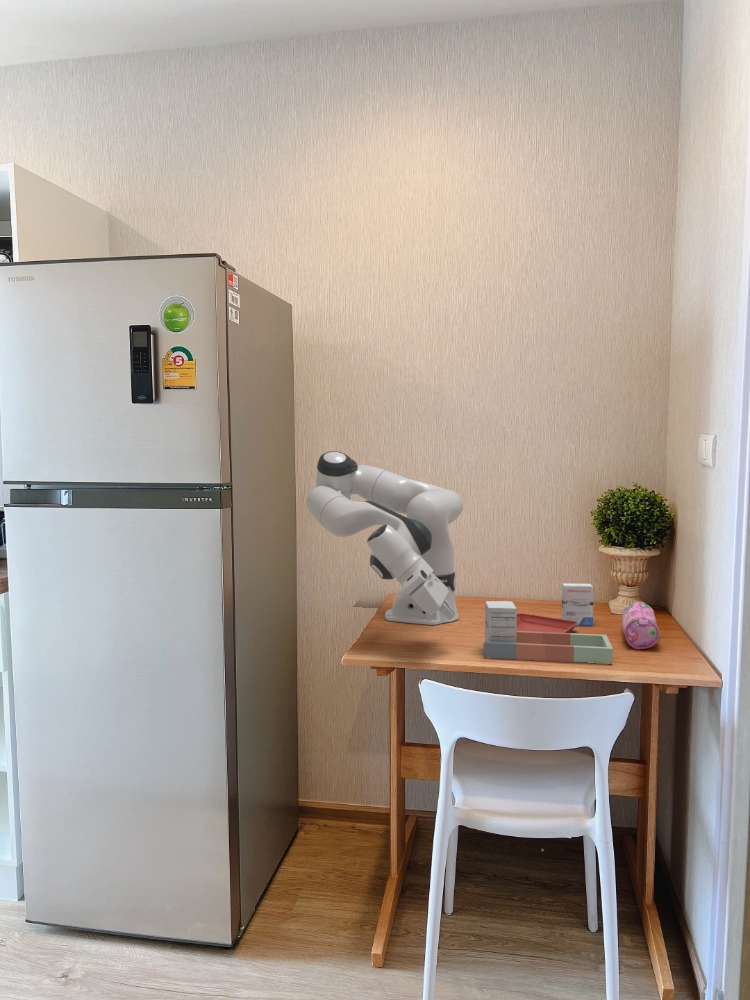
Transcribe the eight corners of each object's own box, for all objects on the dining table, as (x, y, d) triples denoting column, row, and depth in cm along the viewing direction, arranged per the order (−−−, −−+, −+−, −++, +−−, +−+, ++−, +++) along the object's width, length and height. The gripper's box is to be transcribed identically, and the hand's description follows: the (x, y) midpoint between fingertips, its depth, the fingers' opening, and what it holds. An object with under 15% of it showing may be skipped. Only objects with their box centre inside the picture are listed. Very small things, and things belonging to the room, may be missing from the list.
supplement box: (484, 647, 198) (484, 600, 197) (512, 647, 198) (513, 600, 196) (487, 656, 191) (488, 607, 189) (516, 656, 190) (517, 607, 189)
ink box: (590, 621, 223) (591, 582, 222) (593, 626, 218) (594, 586, 217) (561, 621, 224) (561, 582, 223) (563, 625, 219) (564, 586, 218)
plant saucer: (578, 632, 213) (578, 620, 213) (557, 648, 198) (557, 636, 198) (518, 623, 223) (518, 612, 223) (494, 638, 208) (494, 626, 207)
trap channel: (483, 658, 189) (484, 642, 188) (485, 643, 201) (485, 629, 201) (612, 664, 183) (612, 648, 183) (605, 649, 195) (606, 634, 195)
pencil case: (621, 628, 216) (622, 598, 215) (655, 631, 213) (656, 600, 212) (621, 649, 196) (623, 616, 195) (659, 653, 193) (660, 618, 192)
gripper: (414, 577, 205) (448, 614, 204) (401, 593, 185) (438, 635, 184) (431, 562, 204) (465, 600, 203) (419, 576, 184) (457, 618, 183)
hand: (452, 616), depth 193 cm, fingers closed
